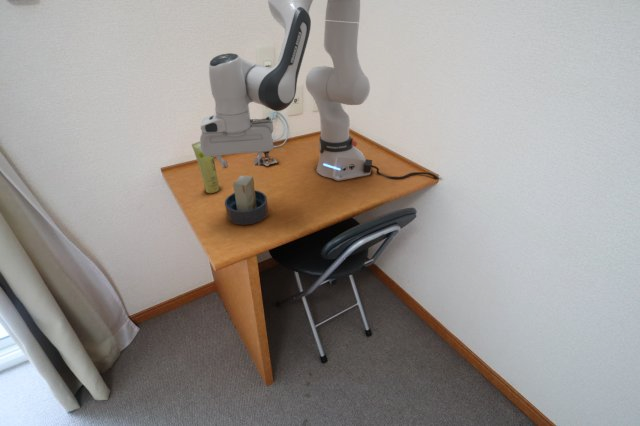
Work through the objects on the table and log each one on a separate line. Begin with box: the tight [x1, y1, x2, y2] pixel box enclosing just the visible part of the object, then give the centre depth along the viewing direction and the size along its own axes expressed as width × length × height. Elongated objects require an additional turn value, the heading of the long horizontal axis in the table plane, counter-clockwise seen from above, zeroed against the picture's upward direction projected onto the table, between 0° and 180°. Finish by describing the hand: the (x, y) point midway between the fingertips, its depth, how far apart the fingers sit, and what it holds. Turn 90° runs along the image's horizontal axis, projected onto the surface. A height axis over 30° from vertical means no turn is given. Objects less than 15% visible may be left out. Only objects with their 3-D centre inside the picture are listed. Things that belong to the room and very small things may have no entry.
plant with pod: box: [259, 116, 279, 167], centre depth 131 cm, size 8×11×20 cm
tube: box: [191, 140, 220, 194], centre depth 111 cm, size 6×5×20 cm
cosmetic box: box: [232, 174, 257, 211], centre depth 100 cm, size 6×4×12 cm
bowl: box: [224, 189, 269, 226], centre depth 102 cm, size 13×13×6 cm
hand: (241, 166), depth 94 cm, fingers open, 8 cm apart
